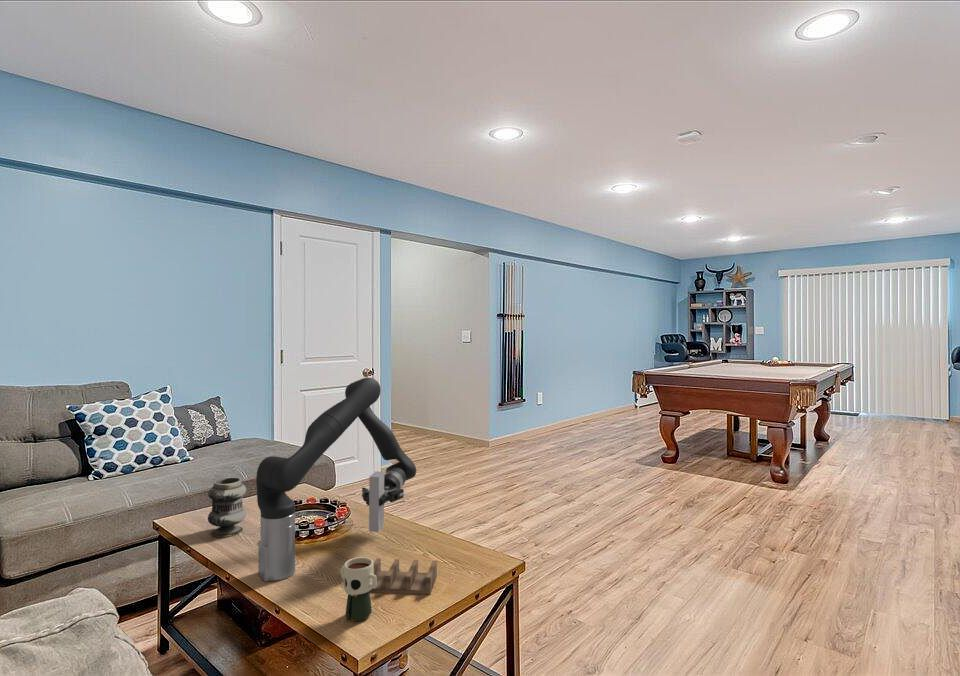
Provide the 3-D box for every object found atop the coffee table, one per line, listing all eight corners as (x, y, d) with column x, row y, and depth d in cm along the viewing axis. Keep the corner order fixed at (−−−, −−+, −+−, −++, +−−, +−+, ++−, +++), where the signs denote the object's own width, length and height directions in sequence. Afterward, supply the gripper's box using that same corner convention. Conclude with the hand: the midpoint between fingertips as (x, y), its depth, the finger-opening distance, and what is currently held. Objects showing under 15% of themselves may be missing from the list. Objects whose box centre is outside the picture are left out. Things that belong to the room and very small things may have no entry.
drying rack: (430, 594, 138) (430, 577, 138) (366, 591, 139) (366, 574, 139) (436, 576, 148) (436, 560, 148) (376, 574, 149) (376, 558, 149)
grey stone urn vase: (222, 541, 172) (222, 487, 171) (199, 534, 177) (199, 481, 177) (254, 529, 182) (254, 478, 182) (232, 523, 188) (231, 473, 188)
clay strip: (378, 531, 152) (378, 477, 152) (369, 531, 152) (369, 476, 152) (383, 524, 158) (384, 471, 158) (374, 524, 158) (375, 471, 158)
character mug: (331, 617, 127) (331, 563, 127) (351, 603, 133) (351, 552, 133) (365, 629, 122) (365, 574, 121) (385, 615, 128) (385, 562, 128)
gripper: (368, 473, 170) (350, 488, 153) (410, 474, 169) (397, 490, 151) (368, 496, 170) (350, 514, 153) (410, 497, 169) (397, 516, 151)
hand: (374, 502), depth 152 cm, fingers closed on clay strip, 2 cm apart
